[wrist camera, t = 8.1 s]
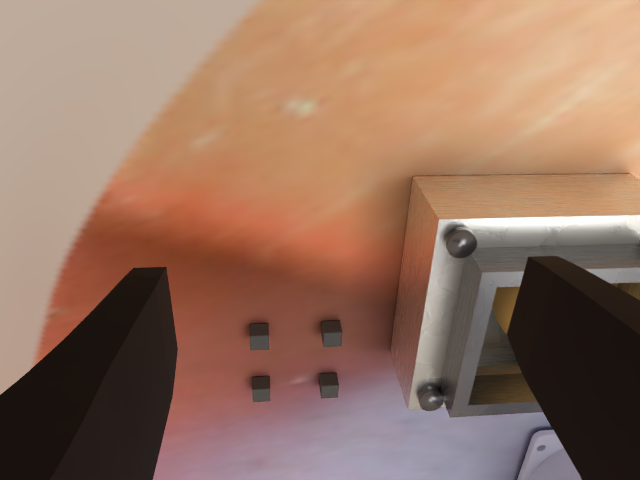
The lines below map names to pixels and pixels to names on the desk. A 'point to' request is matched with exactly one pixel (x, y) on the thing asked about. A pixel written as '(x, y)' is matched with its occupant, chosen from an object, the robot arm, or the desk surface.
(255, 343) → the cradle
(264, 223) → the desk surface
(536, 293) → the robot arm
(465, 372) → the silver open square box
